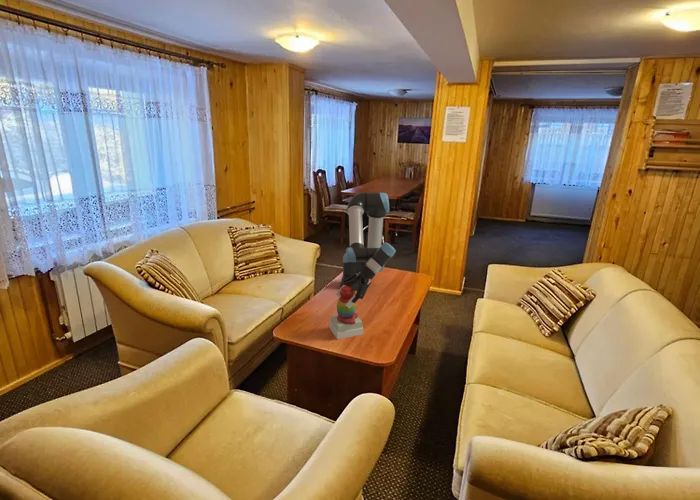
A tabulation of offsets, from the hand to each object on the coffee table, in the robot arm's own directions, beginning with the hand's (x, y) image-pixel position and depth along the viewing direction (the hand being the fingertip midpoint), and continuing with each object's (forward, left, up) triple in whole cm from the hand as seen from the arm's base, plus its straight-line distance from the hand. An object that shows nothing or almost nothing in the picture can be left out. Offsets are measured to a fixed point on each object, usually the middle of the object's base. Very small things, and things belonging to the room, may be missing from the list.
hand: (342, 301), depth 187 cm
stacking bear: (0, +2, -10) cm, 11 cm away
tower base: (0, +2, -17) cm, 17 cm away
